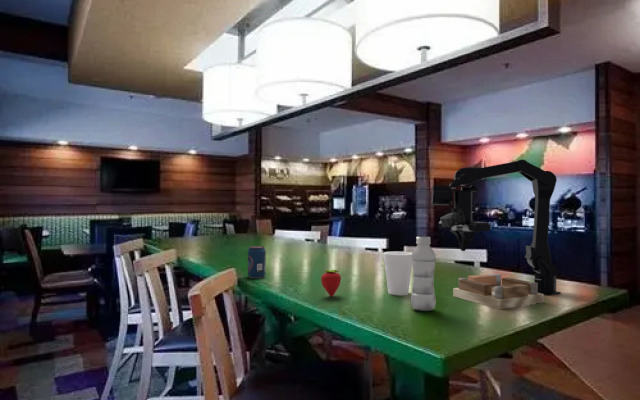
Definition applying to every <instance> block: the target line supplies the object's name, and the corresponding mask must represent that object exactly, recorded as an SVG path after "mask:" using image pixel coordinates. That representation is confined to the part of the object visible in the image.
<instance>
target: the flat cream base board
mask: <svg viewBox="0 0 640 400" xmlns="http://www.w3.org/2000/svg"><path fill="white" fill-rule="evenodd" d="M452 292H453V293H452V295H453V297H454V298H455V297H456V298H459V299H461V300H465V301H469V302H473V303H477V304H480V305H484V306H487V307H490V308H495V309H497V310H503V309H505V310H506V309H510V308H511V309H512V308H517V306H518V307H523V306H522V305H525V306H531V305H530V304H532V305H537V304H536V303H539V304H544V303H545V297H544V296H545V294H540V293H538V283H536V282H534V281H528V280H522V279H517V278H512V277H501V285H492V284H487V283H483V282H478V281H474V280H469V279H468V278H465V277H458V287H454V288H452ZM543 302H544V303H543Z"/></svg>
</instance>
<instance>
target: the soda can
mask: <svg viewBox="0 0 640 400" xmlns="http://www.w3.org/2000/svg"><path fill="white" fill-rule="evenodd" d="M266 256H267V253H266V249H265V246H263V245H252V246H249V247H248V250H247V275H248V277H249V278H250V279H262V277H263V278H264V277H265V276H266V274H267V272H266V271H267V269H266V267H267V266H266V262H267V260H266V258H267V257H266Z"/></svg>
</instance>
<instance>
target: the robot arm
mask: <svg viewBox="0 0 640 400" xmlns="http://www.w3.org/2000/svg"><path fill="white" fill-rule="evenodd" d="M514 173H519V174H520V175H521V176H523V177H524V178H526V180H528V181H530V182H531V186H532V192H533V195H534V199H535V201H534V202H535V204H534V216H533V217H534V218H533V219H534V220H533V234H532V242H531V244H530V245H525V252H526V253H525V255H524V258H526V262H527V264H528V265H529V266H530V267H532V269H533V272H536V273H534V279H533V280H534V281H533V282H536V283H538V293H540V294H544V296H545V295H546V296H551V295H552V296H553V295H559V294H561V293H562V292H561V291H557V277H558V275H559V272H560V269H559V268H558V267H557V266H556V265H554V263H553V262H552V255H551V250H550V246H549V243H548V239H549V238H548V237H549V223H550V211H551V210H550V208H551V199H552V196H553V194H554V191H555V188H556V183H557V179H558V178H557V176H556V175H555V173H554V172H552V171H550V170H544V169H542V168H541V167H538V166H536V165H534V164H532V163H530V162H529V161H527V160H526V159H523V158H522V159H519V160H516V161H515V160H514V161H509V162H504V163H500V164H494V165H491V166H485V167H461V168H459V169H458V170H456V171H455V172H454V175H453V180H452V182H451V183H449V185H433V186H432V195H431V198H432V199H431V202H432V203H431V205H432V206H450V203H453V200H454V206H453V207H452V208H451V210H450V211H451V212H449V213H447V214H445V215H443V216H441V217H440V221H439V222H438V229H449V232H451V233H452V234H453V235H455V238H456V240H457V243H458V244H459V245H458V246H459V249H460V251H461V252H465V251H466V250H467V248H468V246H469V244H470V242H471V240H472V239H473V237H474V235H475V233H478V232H490V231H491V224H490V223H489V222H485V221H475V219H473V212H475V211H476V209H475V208H474V207H473V193H477V192H479V189H478V188H476V187H475V185H474V184H472V183H475V182H478V181H480V180H484V179H488V178H493V177H500V176H504V175H509V174H514ZM469 184H472V185H470V186H468V185H469ZM460 186H461V187H460ZM462 186H463V187H462ZM458 187H460V190H459V189H457V190H455V189H456V188H458ZM453 197H454V199H453Z"/></svg>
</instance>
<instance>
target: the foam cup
mask: <svg viewBox="0 0 640 400" xmlns="http://www.w3.org/2000/svg"><path fill="white" fill-rule="evenodd" d="M412 253H413V252H410V251H385V252H383V262H384V269H385V276H386V284H387V292H388V294H389V295H393V296H407V295H408V294H409V292H410V284H411V277H412V271H413V266H412V257H411V256H412Z"/></svg>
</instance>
